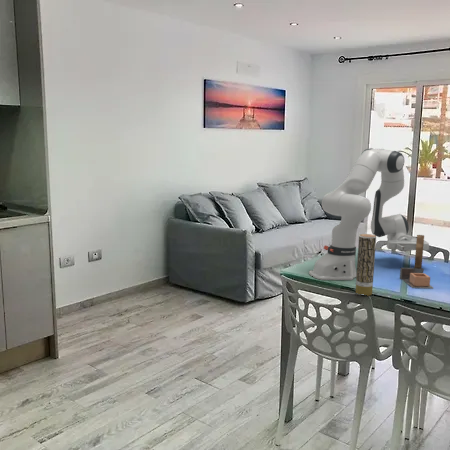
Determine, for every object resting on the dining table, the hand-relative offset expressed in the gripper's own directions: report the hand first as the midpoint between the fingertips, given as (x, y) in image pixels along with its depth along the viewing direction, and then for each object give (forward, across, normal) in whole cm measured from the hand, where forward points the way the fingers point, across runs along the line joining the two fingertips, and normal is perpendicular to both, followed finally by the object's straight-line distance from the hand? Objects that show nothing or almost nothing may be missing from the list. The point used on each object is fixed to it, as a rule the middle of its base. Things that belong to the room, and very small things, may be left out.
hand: (412, 248), depth 247 cm
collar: (+24, -4, +12) cm, 27 cm away
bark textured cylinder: (+39, -33, +12) cm, 52 cm away
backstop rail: (+20, -4, +12) cm, 24 cm away
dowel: (+9, 0, +12) cm, 15 cm away
